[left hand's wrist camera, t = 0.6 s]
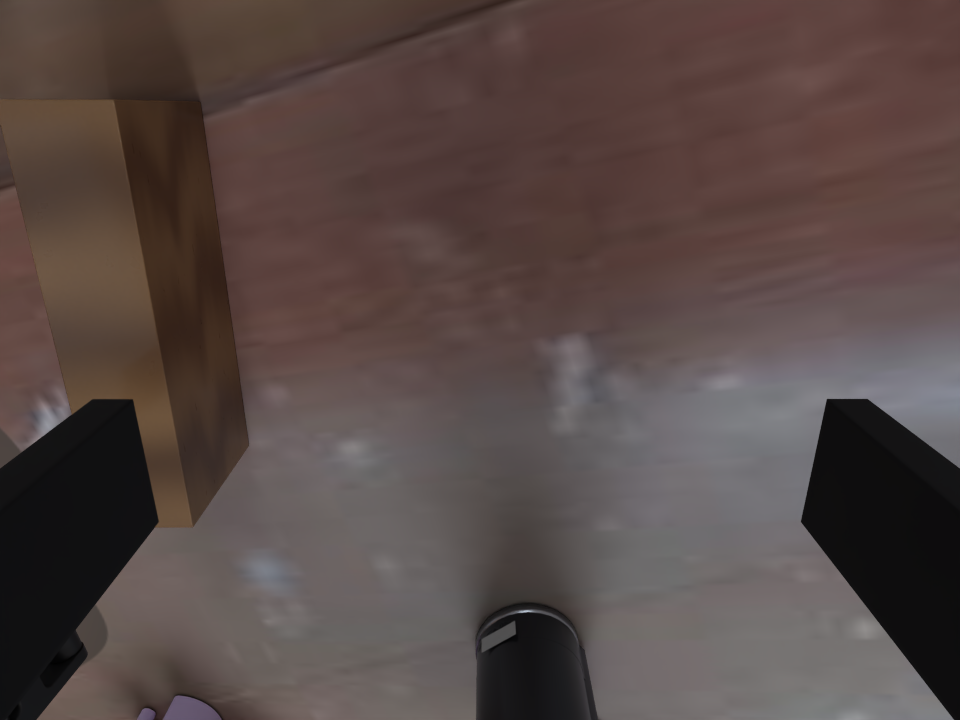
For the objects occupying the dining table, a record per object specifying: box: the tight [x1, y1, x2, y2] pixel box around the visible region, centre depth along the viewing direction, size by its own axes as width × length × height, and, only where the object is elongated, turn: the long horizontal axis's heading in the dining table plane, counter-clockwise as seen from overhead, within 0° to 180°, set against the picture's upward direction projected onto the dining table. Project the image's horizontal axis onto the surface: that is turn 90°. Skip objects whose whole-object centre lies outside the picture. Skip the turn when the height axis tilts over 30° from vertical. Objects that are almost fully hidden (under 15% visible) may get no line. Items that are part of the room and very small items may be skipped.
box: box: [0, 99, 249, 527], centre depth 43 cm, size 26×6×11 cm, turn 0°
